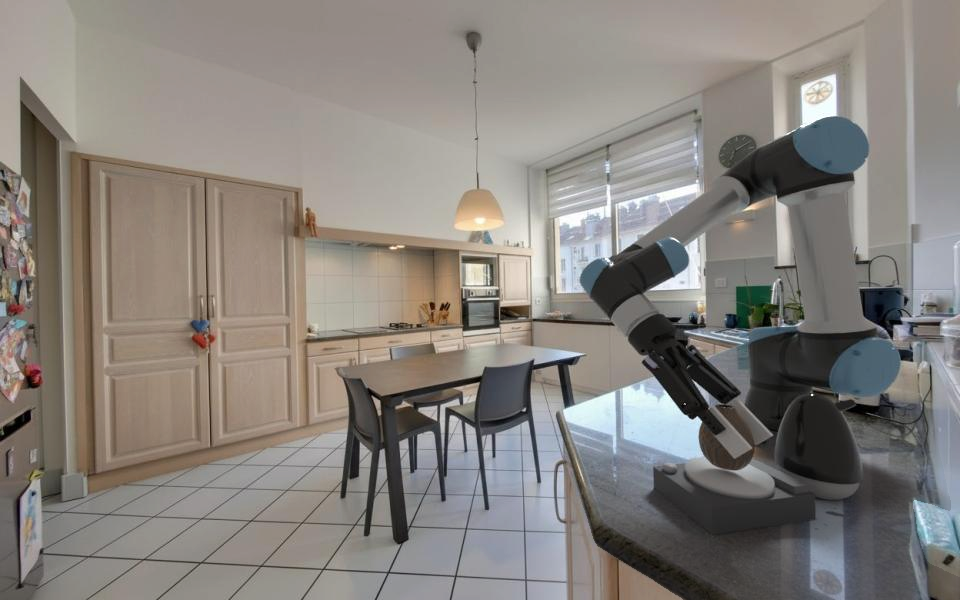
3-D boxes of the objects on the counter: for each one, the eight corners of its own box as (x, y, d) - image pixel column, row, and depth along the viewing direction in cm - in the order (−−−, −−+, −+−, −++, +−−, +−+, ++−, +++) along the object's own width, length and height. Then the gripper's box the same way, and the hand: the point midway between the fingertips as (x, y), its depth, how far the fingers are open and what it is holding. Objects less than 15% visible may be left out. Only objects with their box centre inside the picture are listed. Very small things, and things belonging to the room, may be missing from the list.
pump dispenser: (886, 512, 52) (883, 403, 52) (800, 506, 54) (797, 401, 54) (832, 477, 62) (830, 386, 62) (762, 473, 64) (759, 385, 64)
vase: (762, 478, 51) (761, 414, 51) (704, 471, 53) (703, 409, 53) (745, 459, 57) (744, 402, 57) (694, 453, 59) (694, 398, 60)
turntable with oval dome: (740, 478, 62) (739, 451, 62) (815, 519, 50) (814, 486, 50) (653, 488, 60) (653, 460, 60) (712, 534, 48) (711, 499, 48)
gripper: (660, 336, 73) (760, 443, 60) (596, 345, 62) (701, 479, 49) (687, 309, 69) (801, 418, 55) (623, 314, 58) (747, 451, 44)
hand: (754, 446), depth 52 cm, fingers open, 7 cm apart
